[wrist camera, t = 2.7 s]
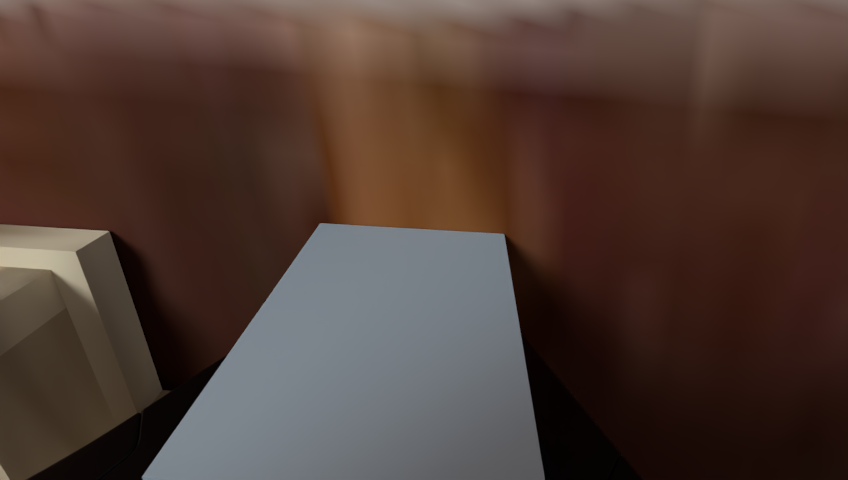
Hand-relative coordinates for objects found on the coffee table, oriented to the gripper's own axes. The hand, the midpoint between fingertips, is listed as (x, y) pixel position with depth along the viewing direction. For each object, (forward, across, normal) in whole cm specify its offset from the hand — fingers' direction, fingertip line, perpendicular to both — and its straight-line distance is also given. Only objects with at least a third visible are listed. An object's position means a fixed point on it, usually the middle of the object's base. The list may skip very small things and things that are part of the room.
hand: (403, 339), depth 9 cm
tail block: (+1, 0, 0) cm, 1 cm away
